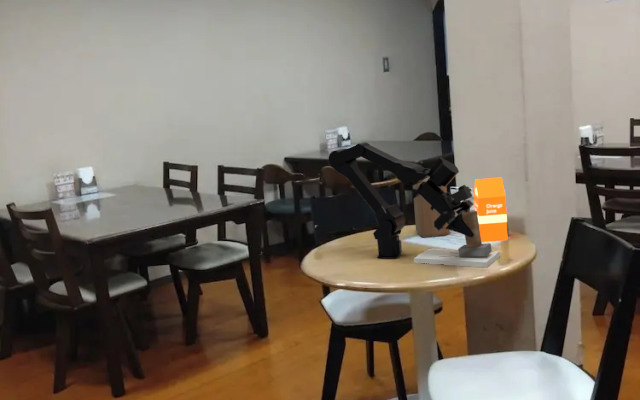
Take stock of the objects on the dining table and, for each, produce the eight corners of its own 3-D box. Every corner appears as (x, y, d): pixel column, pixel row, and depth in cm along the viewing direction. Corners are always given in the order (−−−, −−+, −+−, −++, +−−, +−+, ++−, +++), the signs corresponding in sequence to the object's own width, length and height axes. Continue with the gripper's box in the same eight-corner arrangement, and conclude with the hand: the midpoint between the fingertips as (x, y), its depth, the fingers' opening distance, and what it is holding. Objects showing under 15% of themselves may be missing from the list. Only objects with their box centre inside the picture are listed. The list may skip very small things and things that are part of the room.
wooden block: (415, 232, 239) (411, 177, 236) (443, 229, 240) (439, 174, 236) (421, 238, 229) (417, 180, 226) (450, 235, 230) (446, 177, 227)
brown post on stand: (459, 257, 194) (452, 215, 193) (465, 252, 199) (459, 211, 197) (486, 256, 190) (479, 213, 189) (491, 251, 194) (485, 209, 193)
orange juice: (475, 237, 224) (472, 178, 221) (502, 234, 223) (499, 175, 220) (480, 242, 216) (477, 181, 213) (508, 240, 216) (505, 178, 212)
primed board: (414, 263, 199) (413, 257, 198) (429, 252, 209) (429, 248, 208) (486, 267, 187) (486, 262, 187) (499, 256, 197) (499, 251, 197)
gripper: (441, 183, 186) (482, 222, 182) (464, 173, 201) (503, 209, 197) (417, 211, 191) (456, 250, 187) (441, 199, 207) (478, 234, 203)
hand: (475, 234), depth 193 cm, fingers closed on brown post on stand, 3 cm apart
